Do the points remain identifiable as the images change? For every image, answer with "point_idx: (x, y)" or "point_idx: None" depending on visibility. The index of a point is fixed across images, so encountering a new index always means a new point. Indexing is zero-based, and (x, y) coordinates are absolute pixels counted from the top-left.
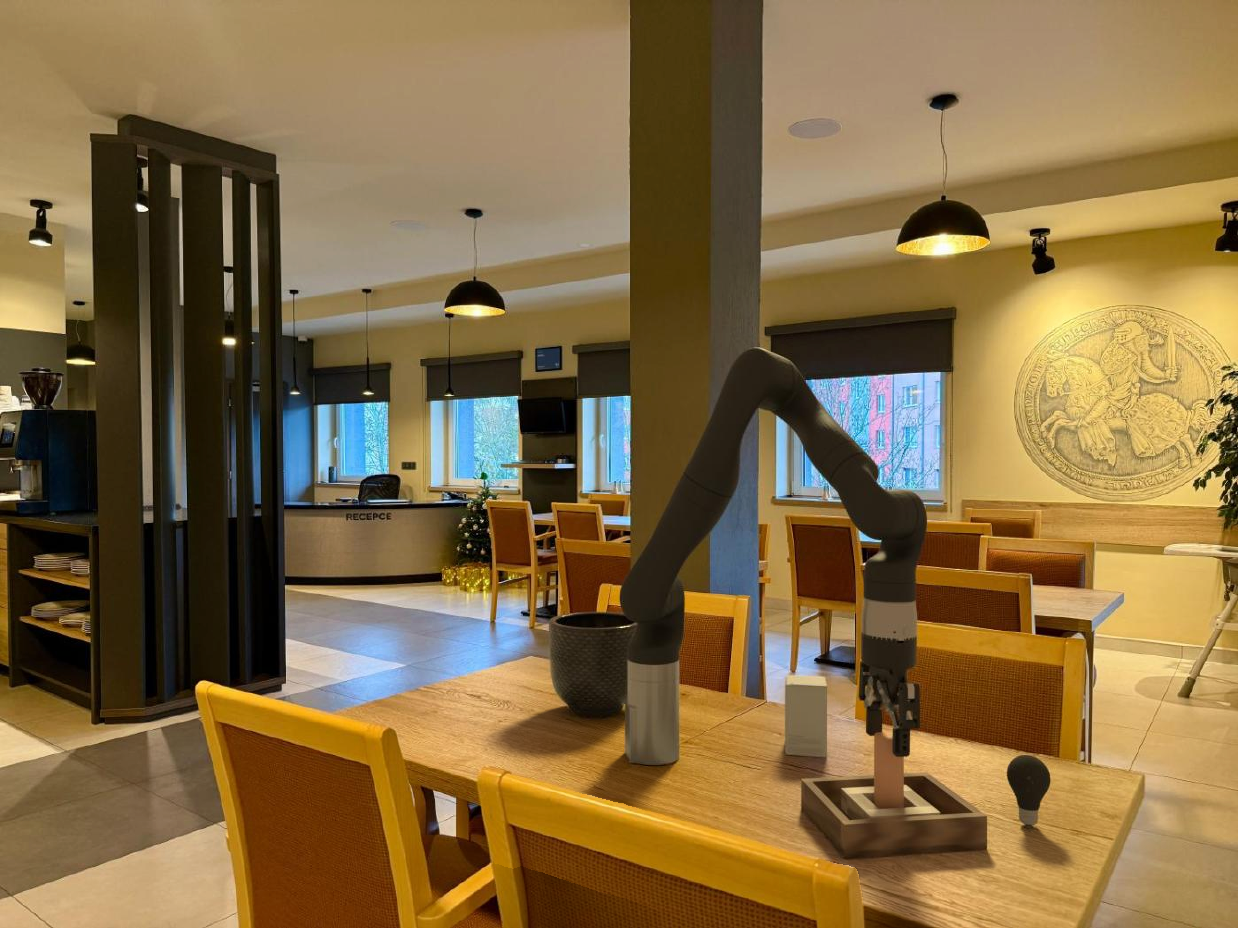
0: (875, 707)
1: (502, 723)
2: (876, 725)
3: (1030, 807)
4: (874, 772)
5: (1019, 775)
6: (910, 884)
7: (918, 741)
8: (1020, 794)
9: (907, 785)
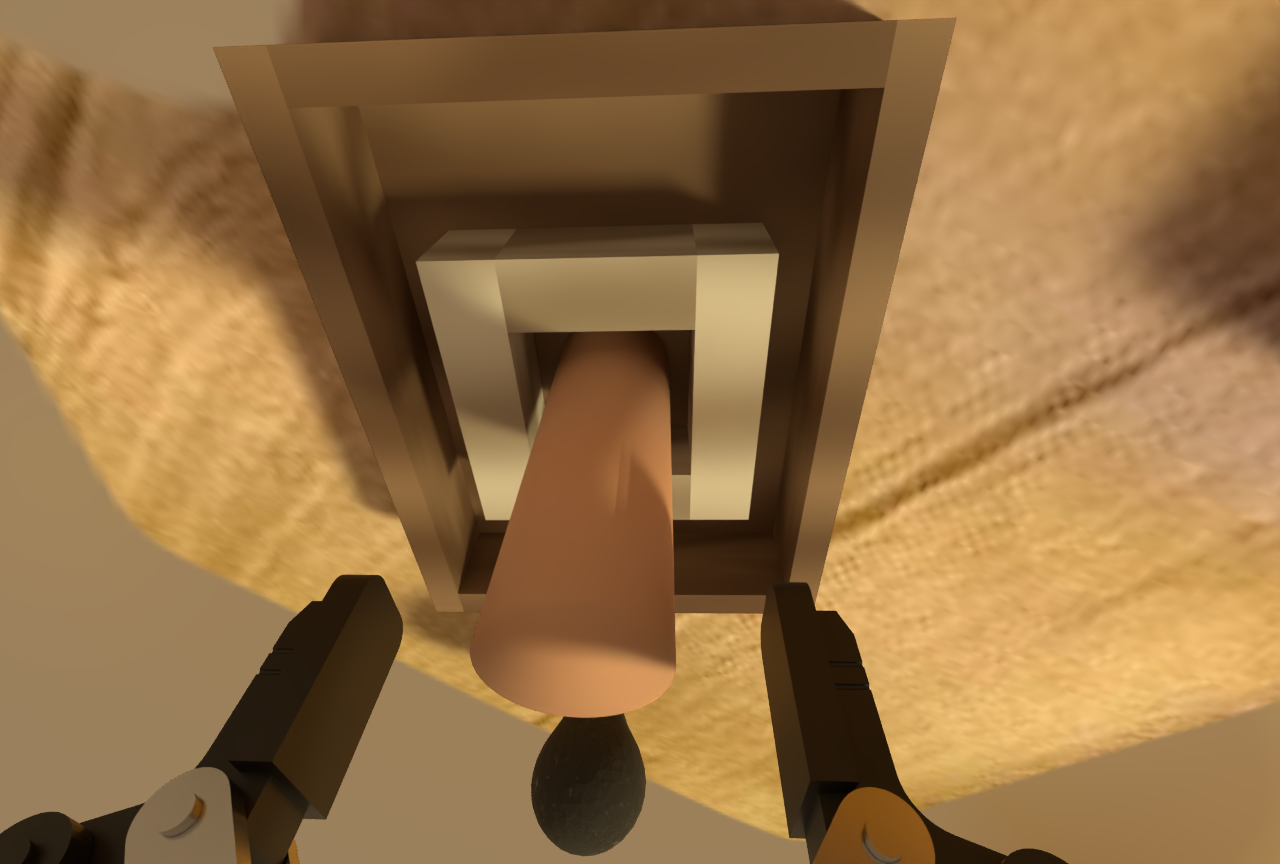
0: (814, 844)
1: None
2: (776, 680)
3: None
4: (607, 428)
5: (553, 776)
6: (169, 240)
7: (1214, 680)
8: (570, 719)
9: (788, 525)
